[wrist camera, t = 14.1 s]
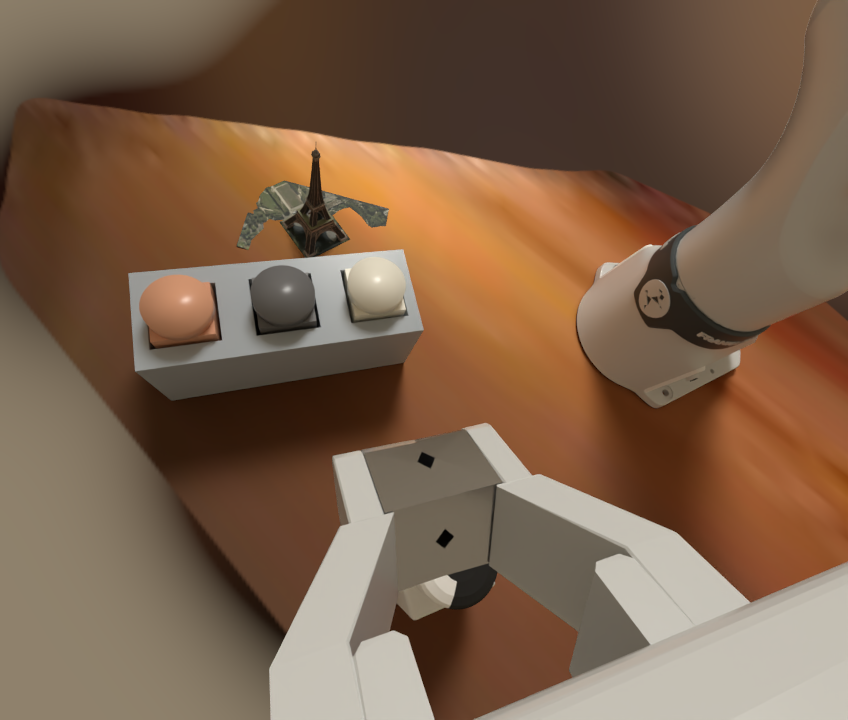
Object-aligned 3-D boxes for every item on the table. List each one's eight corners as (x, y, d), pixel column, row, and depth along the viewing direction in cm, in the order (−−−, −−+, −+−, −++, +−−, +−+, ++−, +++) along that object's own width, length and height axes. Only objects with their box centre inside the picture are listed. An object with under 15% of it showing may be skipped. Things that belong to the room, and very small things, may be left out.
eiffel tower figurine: (390, 211, 53) (413, 120, 41) (375, 285, 50) (396, 209, 37) (260, 177, 51) (244, 68, 38) (236, 252, 47) (208, 159, 35)
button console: (387, 294, 49) (403, 249, 41) (404, 362, 47) (423, 329, 39) (164, 320, 43) (128, 273, 34) (171, 400, 40) (135, 371, 32)
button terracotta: (226, 313, 41) (208, 271, 34) (232, 362, 40) (215, 329, 33) (168, 320, 40) (136, 277, 32) (173, 371, 38) (141, 338, 31)
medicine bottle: (444, 498, 43) (489, 492, 32) (468, 574, 42) (524, 596, 31) (373, 523, 41) (395, 526, 30) (396, 605, 39) (428, 640, 28)
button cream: (385, 295, 45) (398, 254, 38) (395, 338, 44) (411, 305, 37) (338, 300, 44) (343, 259, 37) (347, 346, 43) (354, 312, 36)
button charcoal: (310, 304, 43) (309, 262, 36) (318, 350, 42) (319, 316, 35) (257, 310, 42) (246, 268, 35) (264, 358, 40) (254, 324, 33)
